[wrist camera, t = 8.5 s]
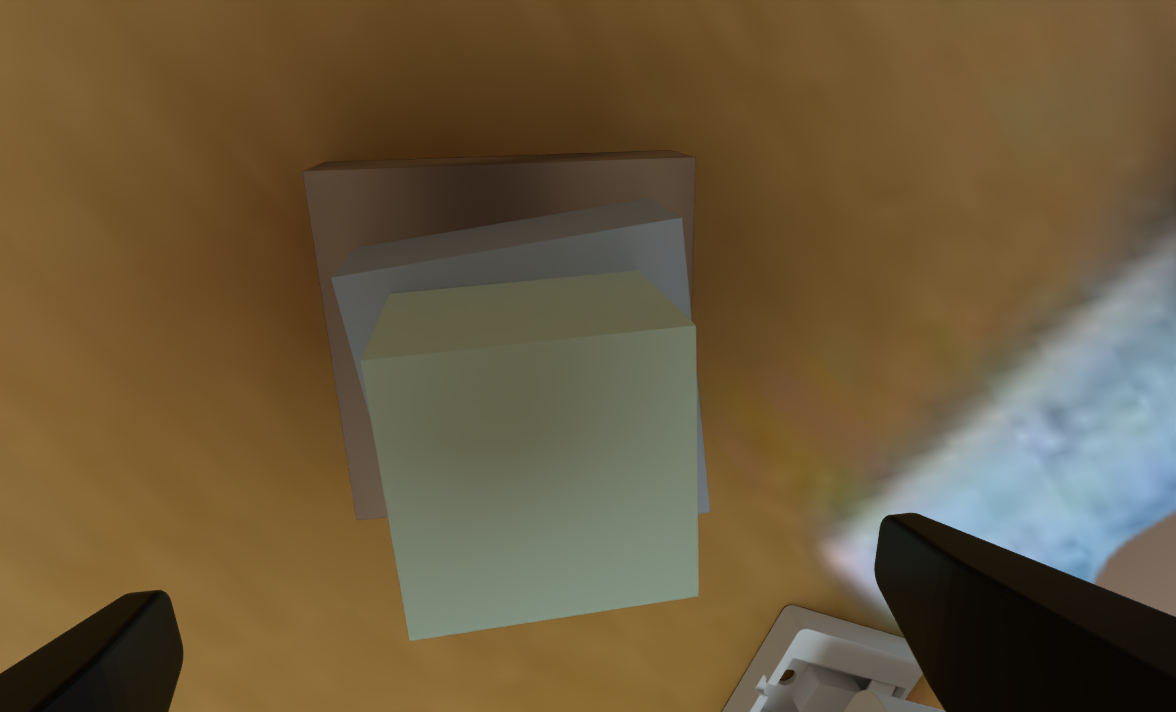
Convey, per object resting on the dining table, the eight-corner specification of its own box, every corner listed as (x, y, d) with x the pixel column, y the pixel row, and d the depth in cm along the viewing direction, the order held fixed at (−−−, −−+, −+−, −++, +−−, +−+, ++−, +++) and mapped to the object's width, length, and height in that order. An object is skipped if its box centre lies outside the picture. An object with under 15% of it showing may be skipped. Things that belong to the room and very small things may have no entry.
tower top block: (648, 197, 17) (681, 217, 14) (677, 453, 20) (710, 511, 17) (355, 247, 17) (331, 277, 14) (423, 504, 19) (413, 573, 16)
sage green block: (638, 270, 15) (695, 325, 11) (646, 484, 16) (698, 596, 13) (389, 293, 14) (360, 360, 10) (424, 514, 16) (410, 640, 12)
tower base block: (664, 148, 20) (695, 157, 17) (660, 440, 23) (686, 488, 20) (328, 160, 19) (302, 171, 16) (371, 466, 22) (356, 520, 19)
